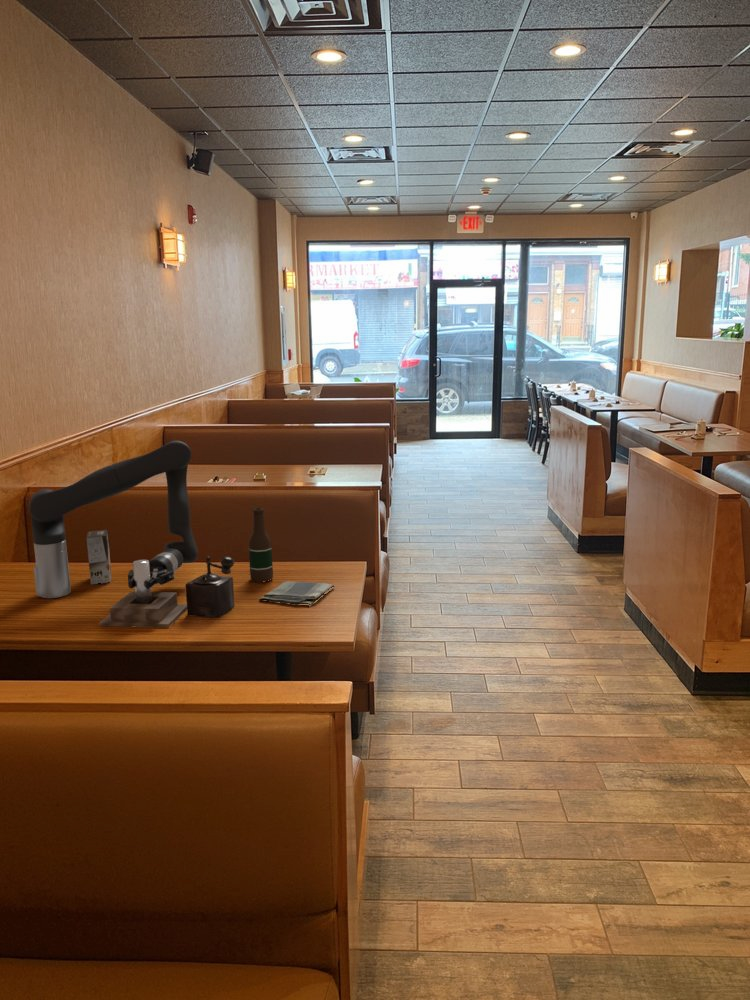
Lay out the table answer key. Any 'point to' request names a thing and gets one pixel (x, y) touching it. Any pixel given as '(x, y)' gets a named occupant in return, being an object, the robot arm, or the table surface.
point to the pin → (142, 581)
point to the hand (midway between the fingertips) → (138, 585)
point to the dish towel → (297, 592)
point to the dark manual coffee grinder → (211, 591)
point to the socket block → (145, 611)
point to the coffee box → (99, 556)
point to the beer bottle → (260, 550)
